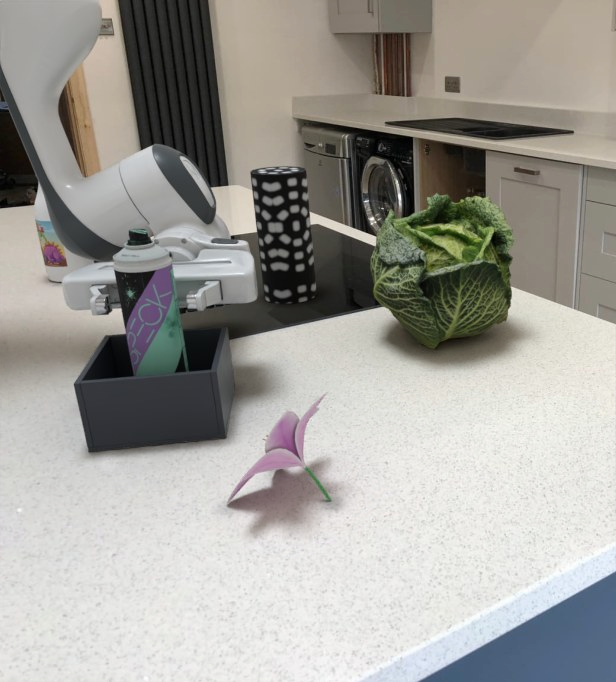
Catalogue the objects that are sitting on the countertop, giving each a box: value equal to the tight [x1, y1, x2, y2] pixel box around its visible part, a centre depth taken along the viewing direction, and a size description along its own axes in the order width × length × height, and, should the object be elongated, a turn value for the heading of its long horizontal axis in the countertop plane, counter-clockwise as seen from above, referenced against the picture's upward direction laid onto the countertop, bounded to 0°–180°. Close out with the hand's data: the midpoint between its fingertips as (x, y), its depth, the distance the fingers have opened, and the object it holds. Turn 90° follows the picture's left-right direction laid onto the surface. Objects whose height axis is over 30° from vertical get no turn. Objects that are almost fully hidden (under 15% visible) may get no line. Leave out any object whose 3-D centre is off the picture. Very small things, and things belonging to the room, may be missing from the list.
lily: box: [226, 391, 332, 505], centre depth 64 cm, size 12×12×10 cm
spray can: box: [112, 229, 189, 376], centre depth 76 cm, size 6×6×20 cm
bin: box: [73, 325, 236, 453], centre depth 79 cm, size 13×13×8 cm
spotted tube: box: [249, 165, 318, 305], centre depth 115 cm, size 8×8×20 cm
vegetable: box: [370, 192, 516, 350], centre depth 100 cm, size 20×19×20 cm
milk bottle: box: [33, 180, 95, 283], centre depth 126 cm, size 8×8×20 cm
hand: (146, 306), depth 75 cm, fingers open, 8 cm apart
